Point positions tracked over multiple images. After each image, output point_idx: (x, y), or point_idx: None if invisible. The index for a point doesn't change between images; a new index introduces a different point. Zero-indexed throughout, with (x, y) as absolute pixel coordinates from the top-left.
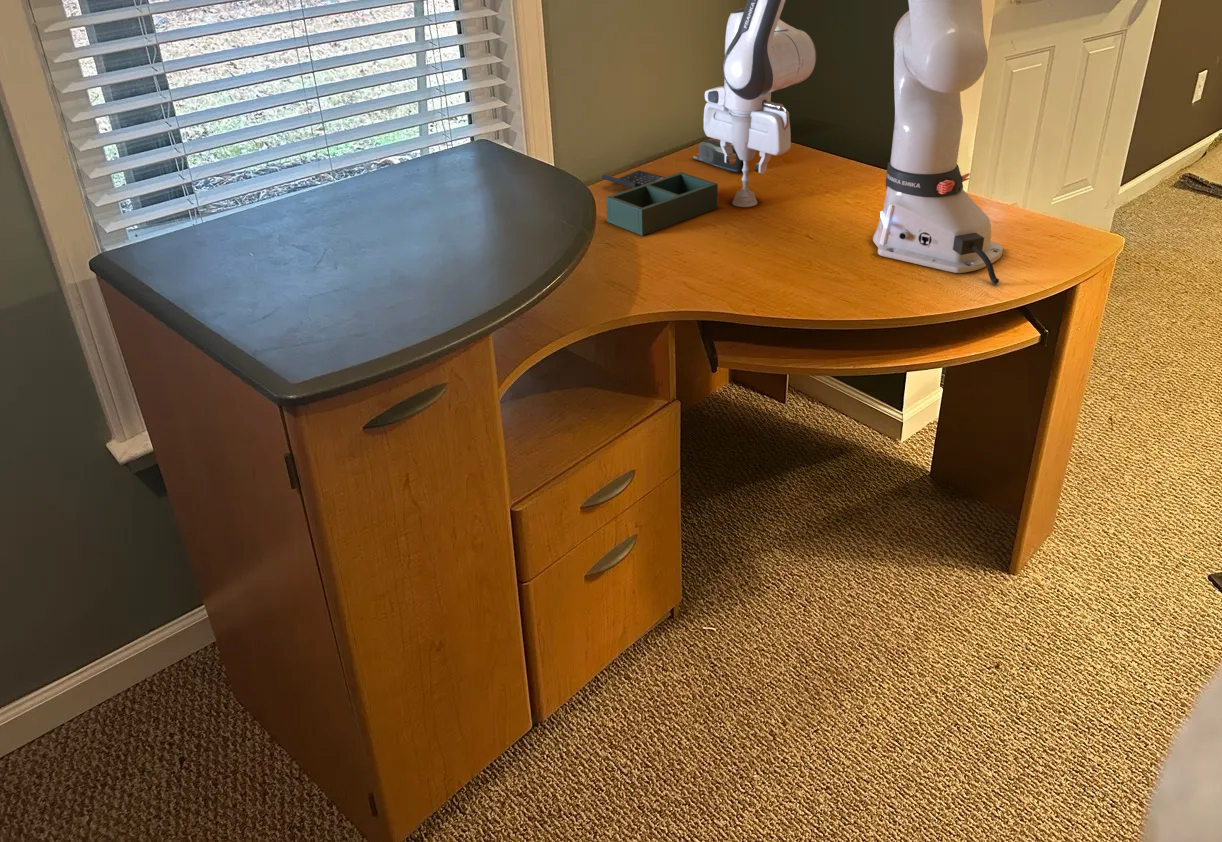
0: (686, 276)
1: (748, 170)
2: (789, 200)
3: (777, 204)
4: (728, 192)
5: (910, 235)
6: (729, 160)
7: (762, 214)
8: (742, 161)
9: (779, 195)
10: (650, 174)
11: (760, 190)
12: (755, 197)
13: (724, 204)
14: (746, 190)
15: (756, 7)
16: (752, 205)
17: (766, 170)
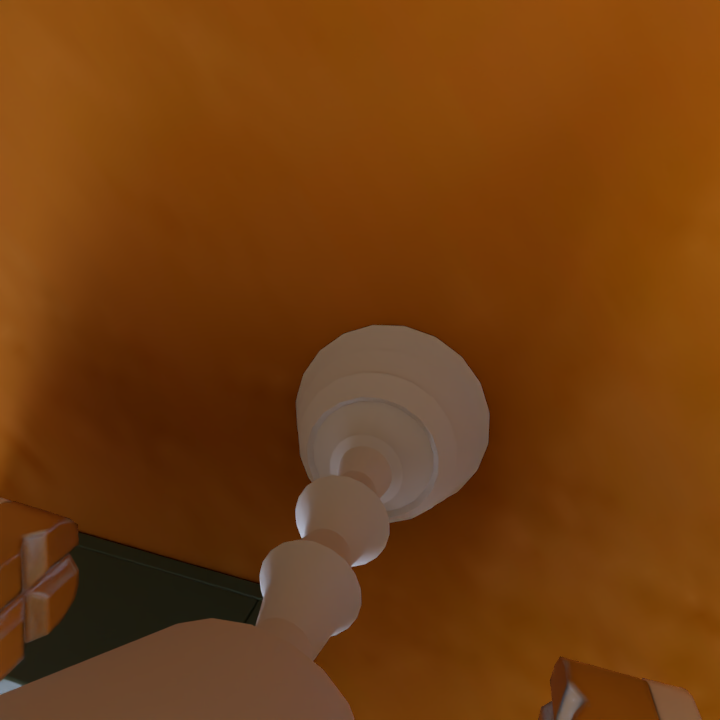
0: None
1: (357, 606)
2: (713, 166)
3: (652, 320)
4: (156, 290)
5: None
6: (30, 637)
7: (646, 567)
8: None
9: (551, 101)
10: None
11: (327, 93)
12: (454, 392)
13: (288, 512)
14: (390, 484)
15: None
16: (480, 457)
17: (692, 701)
